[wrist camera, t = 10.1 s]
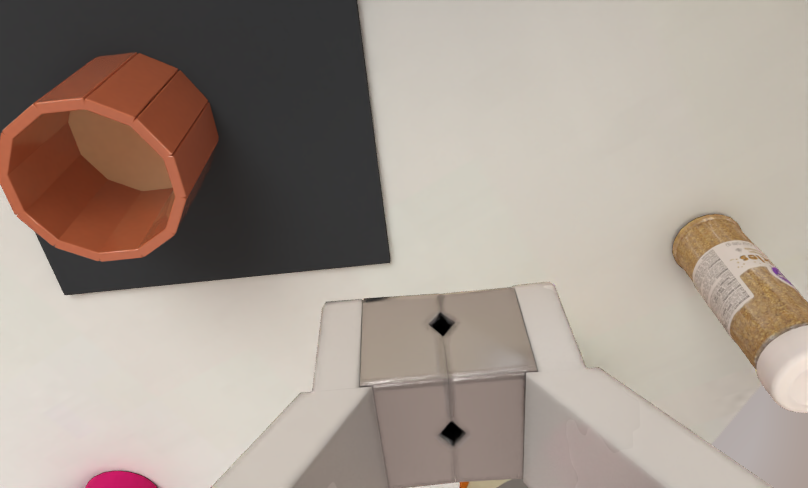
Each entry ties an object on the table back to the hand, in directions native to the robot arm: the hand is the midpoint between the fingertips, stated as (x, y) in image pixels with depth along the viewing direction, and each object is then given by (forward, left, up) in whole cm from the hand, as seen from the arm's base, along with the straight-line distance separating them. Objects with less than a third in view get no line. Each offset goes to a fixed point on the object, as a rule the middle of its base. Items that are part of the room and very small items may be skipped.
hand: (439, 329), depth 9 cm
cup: (+7, -11, -25) cm, 28 cm away
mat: (+7, -13, -29) cm, 32 cm away
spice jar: (+19, +19, -29) cm, 40 cm away
